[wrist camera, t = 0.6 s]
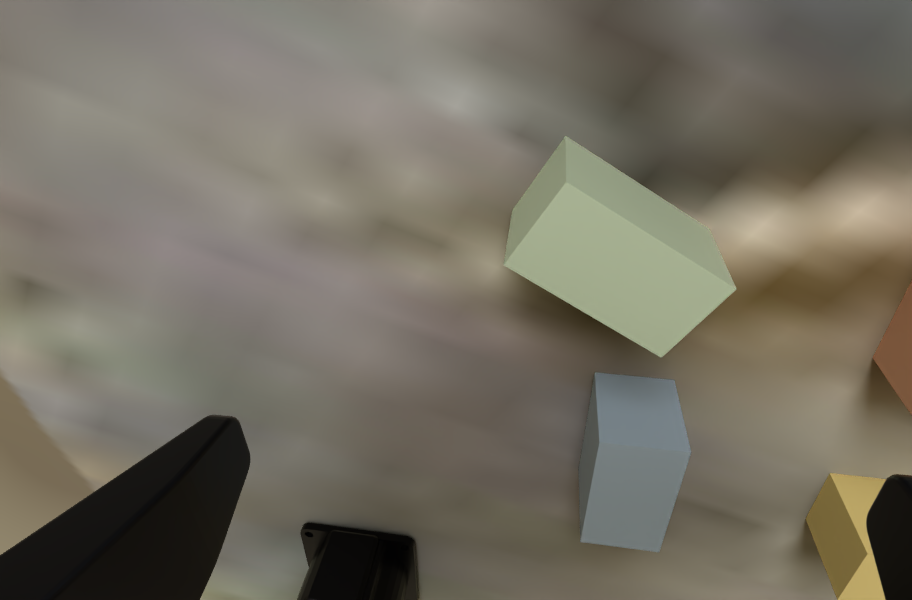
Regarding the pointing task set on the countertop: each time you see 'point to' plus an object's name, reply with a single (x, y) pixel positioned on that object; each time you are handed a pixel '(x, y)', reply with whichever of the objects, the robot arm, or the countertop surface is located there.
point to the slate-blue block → (631, 461)
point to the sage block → (616, 250)
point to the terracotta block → (898, 351)
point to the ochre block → (847, 535)
